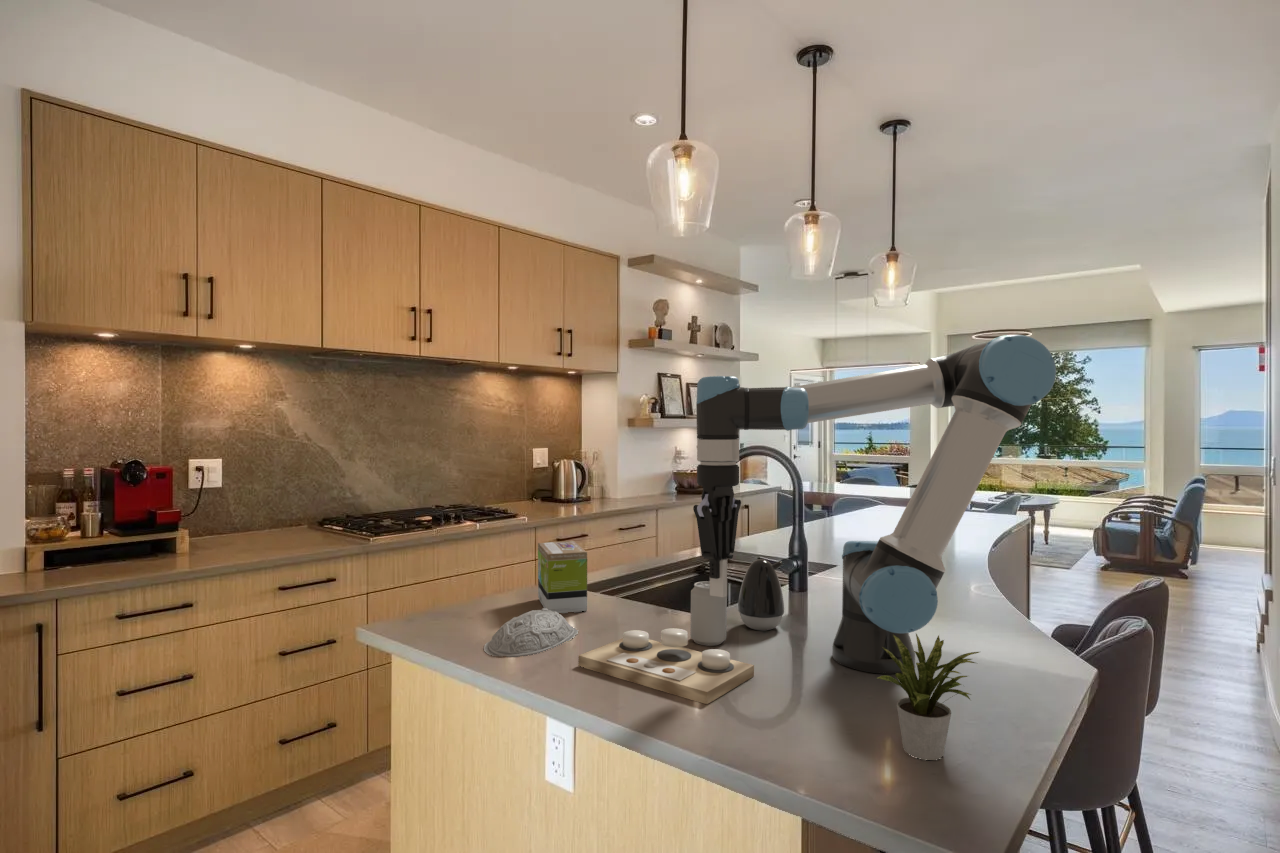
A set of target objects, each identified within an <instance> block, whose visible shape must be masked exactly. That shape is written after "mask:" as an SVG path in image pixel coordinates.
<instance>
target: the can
mask: <svg viewBox="0 0 1280 853" xmlns="http://www.w3.org/2000/svg"><path fill="white" fill-rule="evenodd" d="M693 586H694V587H693V588H692V589H691V590H690V636H689V637H690V638H691V639H692V640H693V641H694V642H695V644H697V645H700V646H709V647H711V646H713V647H714V646H718V645H721V644H722V643H723V642H724V641H725V640H726V639H727V617H728V616H727V612H728V611H727V610H728V609H727V607H728V603H727V602H728V600H727V599H728V595H727V596H725V597H717V596H711V595H710V580H708V581H707V580H706V581H698V582H694V584H693Z"/></svg>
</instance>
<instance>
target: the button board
mask: <svg viewBox="0 0 1280 853" xmlns="http://www.w3.org/2000/svg"><path fill="white" fill-rule="evenodd" d="M702 652H703V651H697V650H695V649H692V648H691V649H689V648H686V647H684V646H683V647H667V646H664V645H662V644H661V641H658V640H653V639H650V638H649V645H648V646H647V647H645V648H639V649H633V648H627V647H625V646H624V645H623V637H622V638H619V639H617V640H615V641H613V642H609V643H607V644H603V645H602V646H599V647H596V648H594V649H592V650H589V651H586V652H584V653H581V654H578V655H577V656H578V662H577V665H578V667H580V666H581V668H583V667H584V669H586V670H590V671H594V672H597V673H601V674H604V675H607V676H609V677H610V676H611V677H612V678H613V677H614V678H617V679H620V680H624V681H628V682H629V683H634V684H638V685H641V686H644V687H647V688H650V689H654V690H657V691H661V692H664V693H668V694H671V695H675V696H677V697H680V698H683V699H684V698H685V699H687V700H691V701H694V702H697V703H700V704H704V705H709V704H710V703H712V702H713V701H716V700H717V699H719V698H721V697H722V696H723V695H725V694H727V693H728V692H730V691H731V690H733V689H735V688H736V687H738V686H741V684H743V683H745V682H747V681H748V680H750V679H751V678H754V677H755V665H754V664H752V663H747V662H742V661H739V660H735V659H732V658H730V667H729V668H727V669H723V670H712V669H708V668H705V667H703V666H702Z"/></svg>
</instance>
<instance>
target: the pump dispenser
mask: <svg viewBox="0 0 1280 853" xmlns="http://www.w3.org/2000/svg"><path fill="white" fill-rule="evenodd" d="M782 566H783V562H782V561H777V562H775V563H771V562H770V561H768V560H766V559H763V558H759V559H755V560H754V561H752V562H751V563H750V565H749V567H748V568H747V570H746V572H745V574H744V576H743V580H742V583H741V586H740V591H739V596H738V602H737V611H738V613H739V616H740V619H741V621H742V623H743V624H744V625H745V626H746V627H747V628H750V629H751V630H755V631H764V632H765V631H770V630H771V631H772V630H773V629H775V628H776V627H778V626H779V625H780V623H781V621H782V618H783V616H784V614H785V602H784V601H785V600H784V595H783V588H782V587H781V582H780V579H779V576H778V574H777V571H776V570H778V569H779V568H780V567H782Z"/></svg>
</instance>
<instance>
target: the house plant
mask: <svg viewBox="0 0 1280 853" xmlns="http://www.w3.org/2000/svg"><path fill="white" fill-rule="evenodd" d="M893 636H894V635H893ZM915 637H916V642H917V648H918V649H917V650H914V651H913V652H915V656H916V657H917V659H918V661H919V662H915V666H916V668H917V673H916V670H915V667H914V664H913V661H912V658H911V655H910V653H909V650H908V649H907V648H906V646H905V645H904V644H903V643H902V642H901V640H900V639H899V638H898V637H896V636H894V638H895V640H896V643H897V645H898V648H899V651H900V653H901V657H902V661H903V664H902V663H901V662H900V660H898V659H897V658H896V657H895V656H894V655H893V654H892V653H891V652H890V651H888V650H887V649H885V648H883V649H884V650H885V651H886V652H887V653H888V654H889V655H890V656H891V658H892V659H893V660H894V662H895V663H896V664H897V665H898V666H899V668H900V669H901V671H902V673H894V676H895V677H896V678H895V677H893V676H890V675H888V674H886V675H885V674H884V675H880V676H878V677H877V679H879V680H883V681H888V682H890V683H893V684H896V685H898V686H899V687H900V688H902V689H903V690H904V691H905V692H906V694H907V696H908V697H904V698H901V699H899V700H898V701H897V702H896V709H897V716H898V723H899V728H900V729H899V730H900V734H901V743H902V748H904V749H903V751H904V750H905V751H906V752H907V753H908V754H910V755H912V756H914V757H917V758H921V759H927V760H936V759H939V758H941V757H942V756H943V757H944V753H945V748H946V742H947V737H948V732H949V726H950V721H951V717H952V711H951V708H950V707H949V706H947V705H946V704H944V702H945V703H946V701H948V700H949V699H951V698H952V697H954V695H952V696H950V697H949V698H948V699H946V700H945V701H943V702H940V701H939V700H940V699H941V697H942V696H943V694H945V693H955V694H956V695H958V694H959V695H961V696H963V697H965V698H967V699H969V700H971V698H970V697H969V695H970V696H972V694H971V693H969V692H965V691H963V690H961V689H956V688H955V687H959V686H962V685H963V687H965V686H964V684H962V683H960V682H958V680H961V678H966V677H969V675H962V673H961V672H959V671H956V670H954V669H955V668H956V667H957V666H959V665H961V664H966V663H969V664H970V663H971V664H978V663H977V662H976V661H972V660H973V658H966V657H968V656H971V655H975V654H979V653H980V651H972V652H968V653H963V654H961V655H959V656H957V657H955V658H953V659H952V660H950V661H949V662H948V663H944V664H940V665H939V663H940V660H941V658H942V647H943V645H944V644H945V643H944V641H945V639H942V640H941V639H940V633H939V634H938V636H937V637H936V638H935V642H934V645H933V647H932V649H931V651H930V653H929V655H928V657H927V659H926V655H925V650H924V648H923V646H922V643H921V639H920V638H919V636H918V634H917V633H915ZM940 669H941V670H940ZM939 670H940V672H939V673H938V674H937V675H936V676H935V673H936V671H937V672H938V671H939ZM950 673H956V674H960V675H959V676H955V677H950V676H949V674H950ZM917 674H918V676H917ZM934 676H935V677H934ZM946 679H950V680H948V681H945V680H946ZM905 751H904V752H905ZM906 752H905V753H906ZM907 753H906V754H907ZM908 754H907V755H908ZM910 755H909V756H910ZM912 756H911V757H912ZM914 757H913V758H914ZM917 758H916V759H917ZM941 759H942V758H941ZM936 761H937V760H936Z"/></svg>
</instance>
